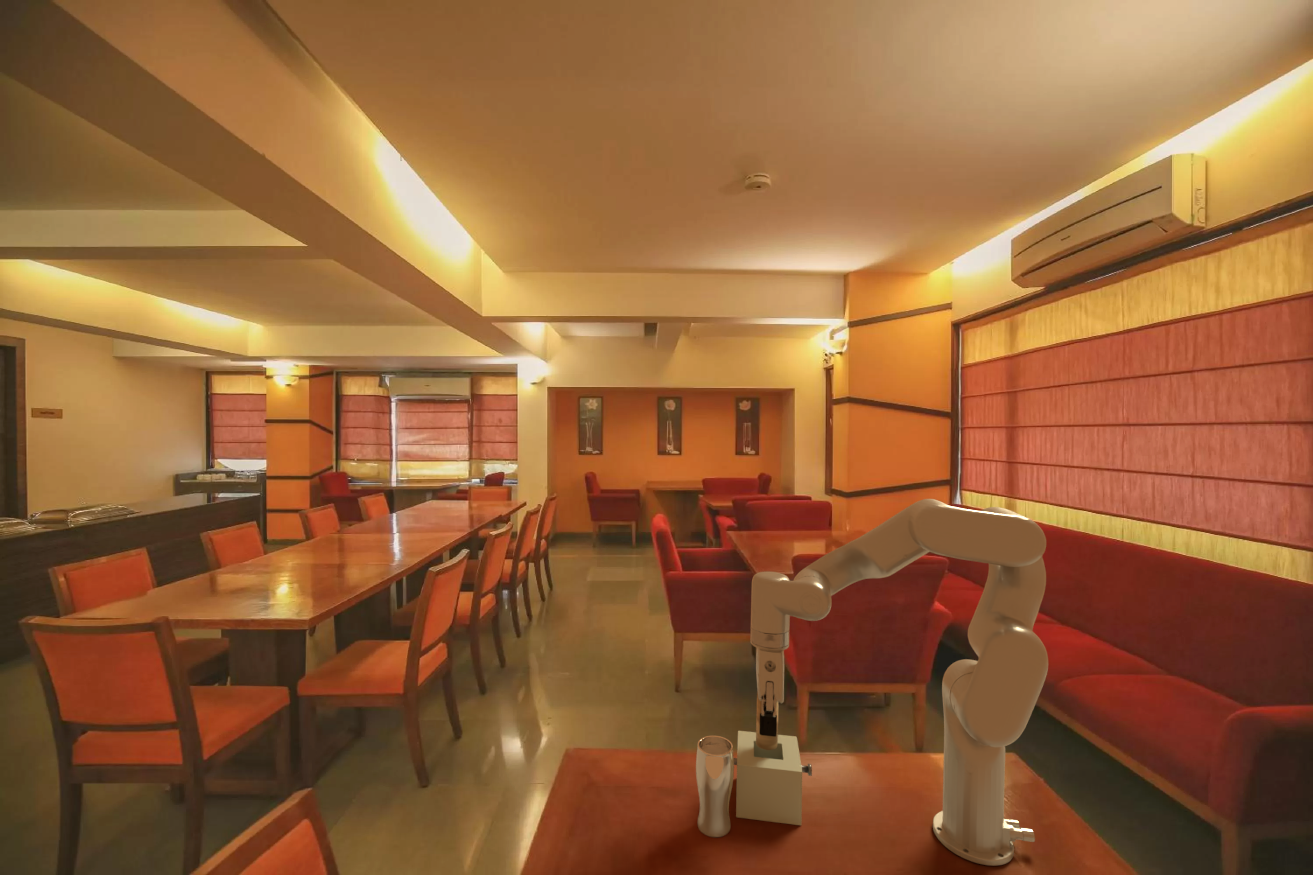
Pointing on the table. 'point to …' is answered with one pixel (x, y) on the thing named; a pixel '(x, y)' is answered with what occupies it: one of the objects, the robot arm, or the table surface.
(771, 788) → the socket
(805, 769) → the plunger
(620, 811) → the table surface
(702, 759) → the beer glass
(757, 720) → the peg
